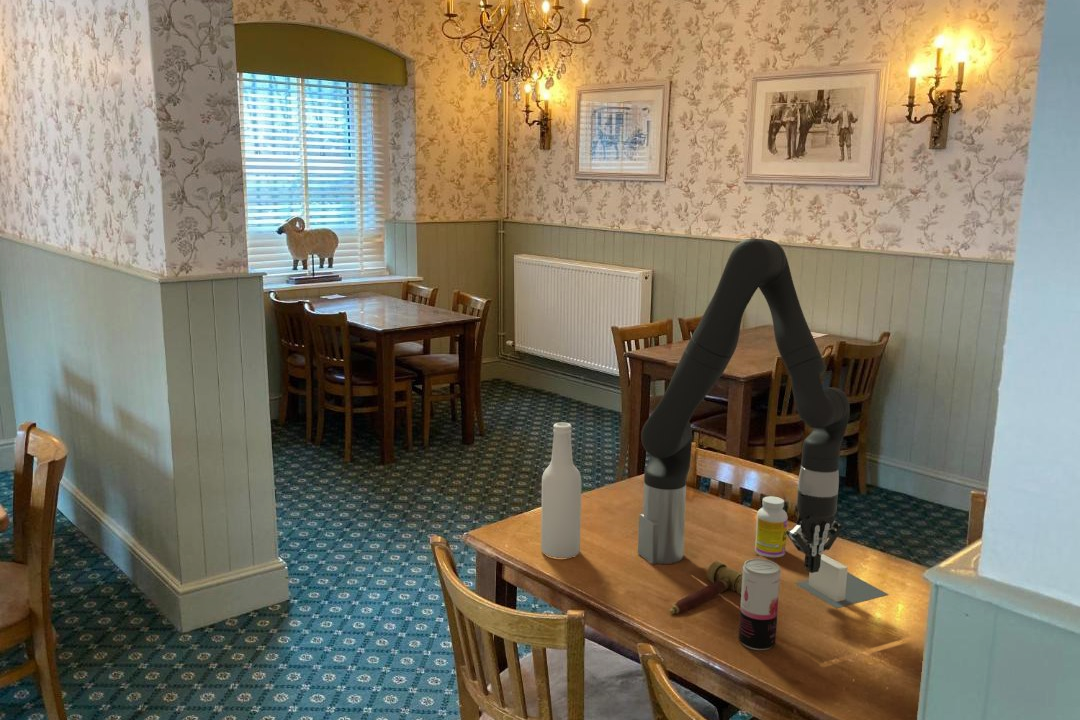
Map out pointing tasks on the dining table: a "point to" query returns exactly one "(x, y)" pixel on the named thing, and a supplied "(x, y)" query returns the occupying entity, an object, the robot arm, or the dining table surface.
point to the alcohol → (561, 499)
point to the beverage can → (759, 604)
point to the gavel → (711, 587)
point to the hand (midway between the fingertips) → (811, 570)
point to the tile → (830, 579)
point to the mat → (848, 592)
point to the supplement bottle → (771, 528)
